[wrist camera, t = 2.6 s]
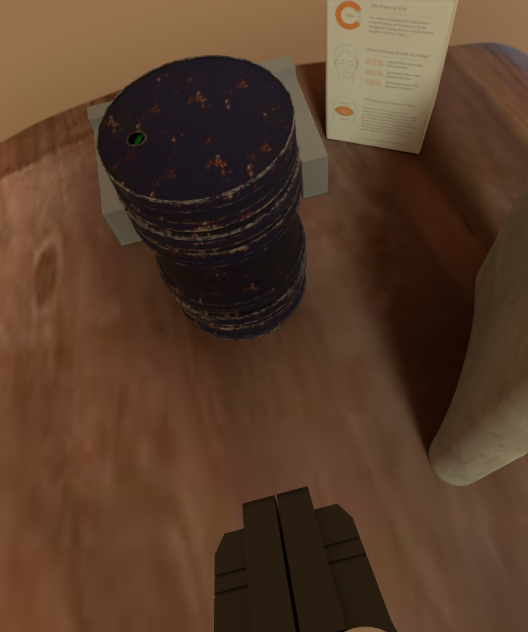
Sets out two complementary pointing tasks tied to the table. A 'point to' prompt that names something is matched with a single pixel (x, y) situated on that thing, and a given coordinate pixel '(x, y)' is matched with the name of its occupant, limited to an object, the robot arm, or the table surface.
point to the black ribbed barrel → (213, 188)
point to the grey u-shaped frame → (306, 134)
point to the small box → (384, 69)
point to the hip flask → (492, 365)
